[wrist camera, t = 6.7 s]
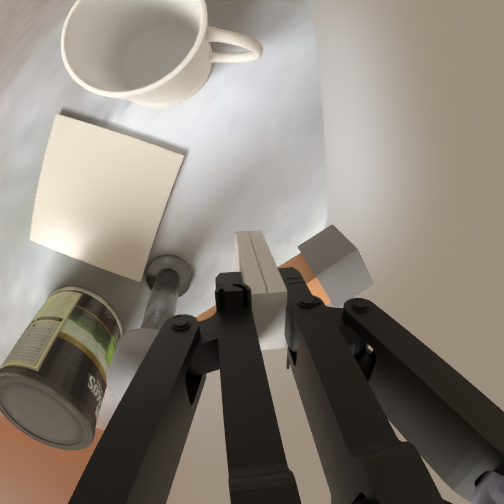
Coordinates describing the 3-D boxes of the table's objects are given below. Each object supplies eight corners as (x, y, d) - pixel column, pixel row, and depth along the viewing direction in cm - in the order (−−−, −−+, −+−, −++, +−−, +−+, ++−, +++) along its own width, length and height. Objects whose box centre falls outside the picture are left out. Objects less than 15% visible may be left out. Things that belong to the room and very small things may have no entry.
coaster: (59, 113, 23) (56, 113, 23) (184, 155, 27) (184, 156, 26) (32, 237, 28) (29, 239, 27) (141, 279, 31) (140, 282, 30)
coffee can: (129, 302, 32) (94, 404, 19) (117, 367, 35) (93, 462, 22) (44, 272, 29) (-21, 355, 16) (43, 341, 33) (0, 424, 20)
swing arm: (150, 387, 22) (145, 424, 18) (102, 345, 20) (89, 382, 16) (356, 270, 20) (381, 300, 16) (322, 206, 18) (346, 227, 14)
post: (154, 248, 30) (127, 319, 19) (197, 263, 31) (191, 340, 20) (142, 286, 31) (116, 364, 21) (183, 299, 32) (174, 381, 22)
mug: (259, 33, 23) (291, -19, 12) (237, 121, 26) (255, 123, 15) (129, 15, 21) (82, -37, 10) (107, 103, 24) (42, 98, 13)
